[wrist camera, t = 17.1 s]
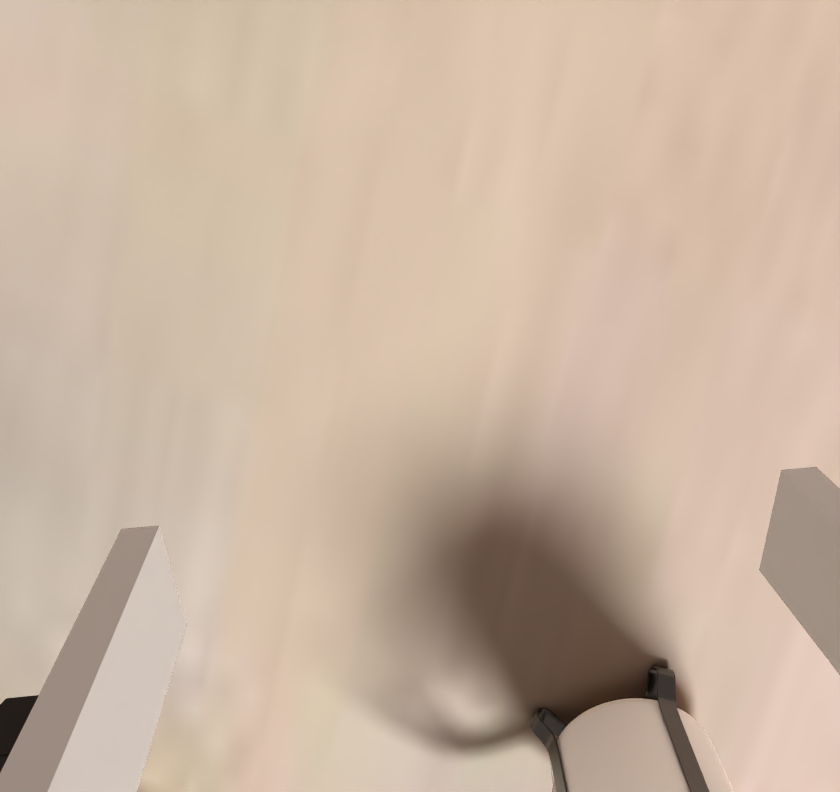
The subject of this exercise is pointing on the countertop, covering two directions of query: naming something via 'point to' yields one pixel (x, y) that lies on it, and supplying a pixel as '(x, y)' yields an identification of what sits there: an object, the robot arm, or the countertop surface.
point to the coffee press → (632, 746)
